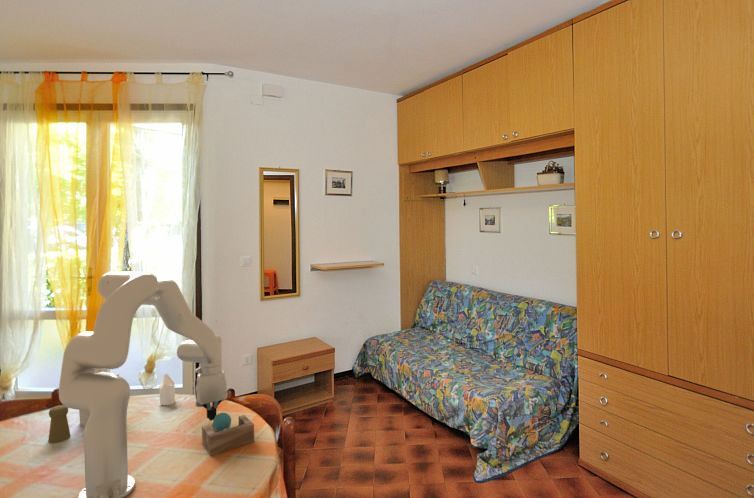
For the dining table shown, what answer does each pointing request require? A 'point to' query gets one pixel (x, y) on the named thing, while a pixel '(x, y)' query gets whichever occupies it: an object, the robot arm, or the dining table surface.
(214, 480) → the dining table surface
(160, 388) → the white pointed block
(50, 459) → the dining table surface
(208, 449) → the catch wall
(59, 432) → the cork
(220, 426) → the ball
